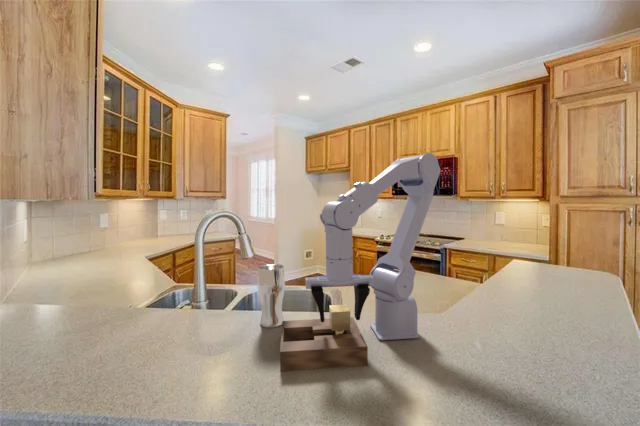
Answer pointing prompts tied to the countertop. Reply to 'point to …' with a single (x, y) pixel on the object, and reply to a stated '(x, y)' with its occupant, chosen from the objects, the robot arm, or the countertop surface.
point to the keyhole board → (321, 346)
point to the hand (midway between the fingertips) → (339, 319)
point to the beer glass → (271, 294)
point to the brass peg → (339, 318)
